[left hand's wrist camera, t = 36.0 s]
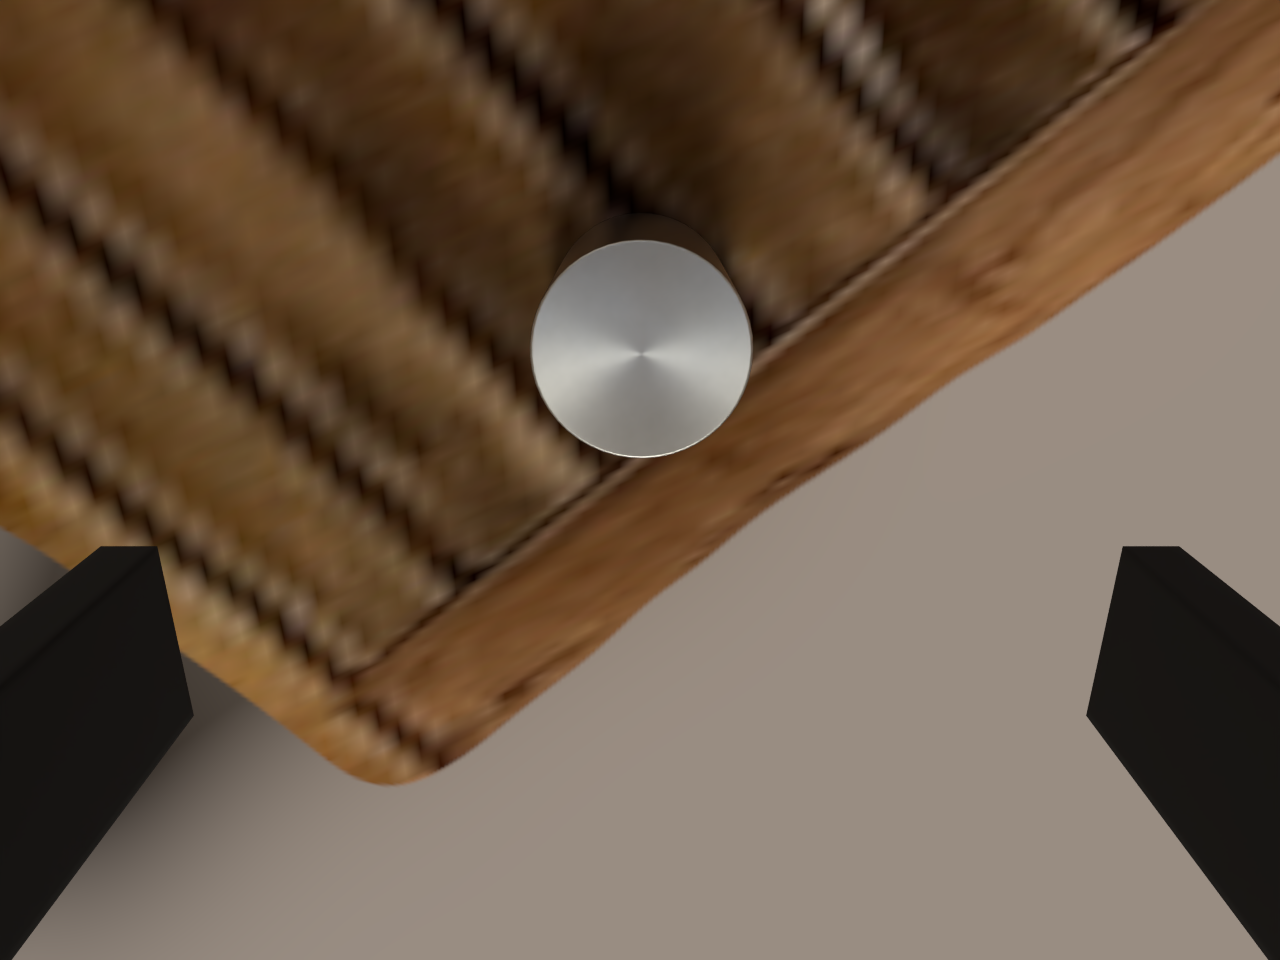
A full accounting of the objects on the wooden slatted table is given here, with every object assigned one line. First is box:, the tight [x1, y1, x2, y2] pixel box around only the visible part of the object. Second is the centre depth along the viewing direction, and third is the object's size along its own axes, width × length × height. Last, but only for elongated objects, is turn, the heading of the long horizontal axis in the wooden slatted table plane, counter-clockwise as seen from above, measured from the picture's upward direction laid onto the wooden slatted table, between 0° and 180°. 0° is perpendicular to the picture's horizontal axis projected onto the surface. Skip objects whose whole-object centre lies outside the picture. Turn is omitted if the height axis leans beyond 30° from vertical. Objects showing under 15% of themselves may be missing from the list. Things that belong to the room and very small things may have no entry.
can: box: [530, 213, 753, 458], centre depth 31 cm, size 7×7×8 cm
